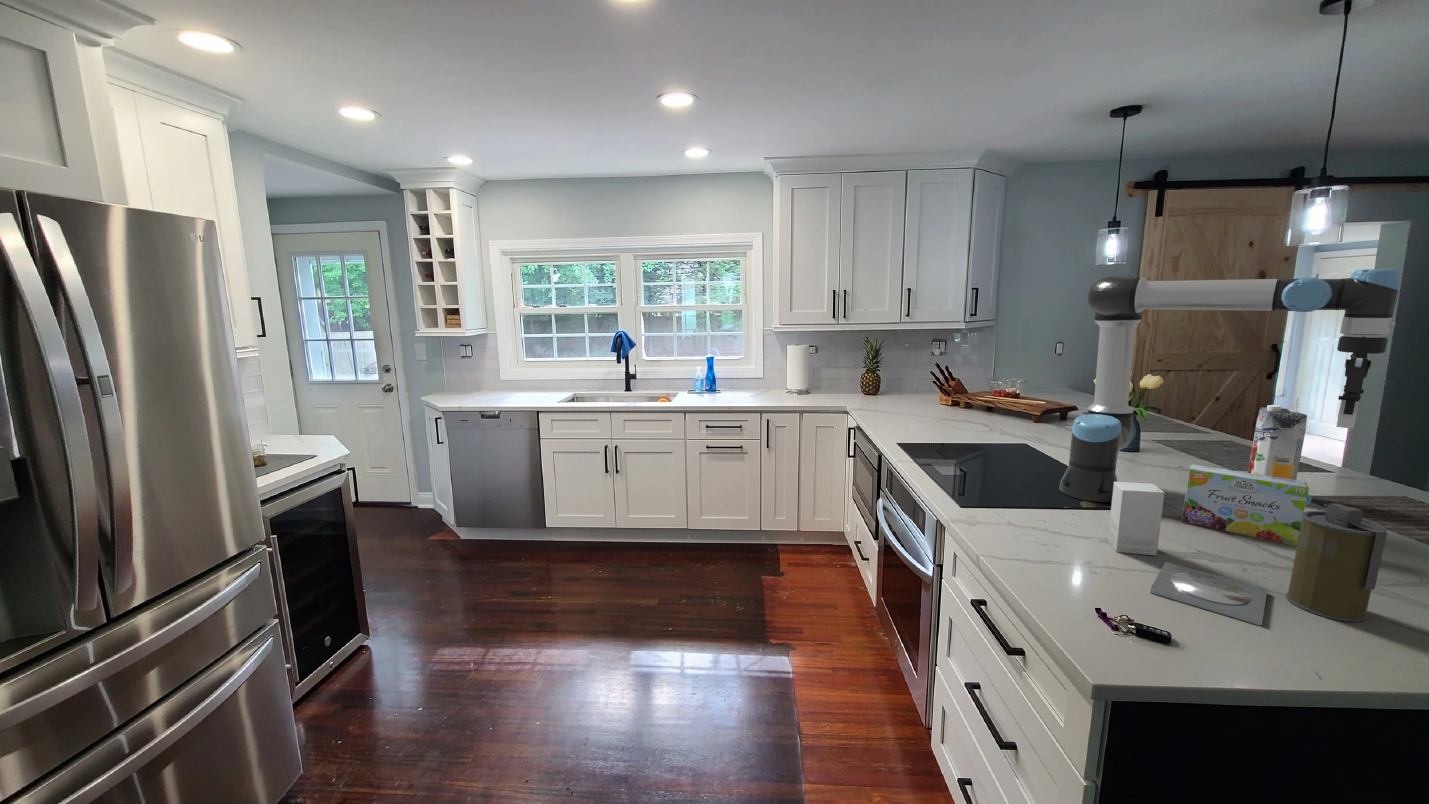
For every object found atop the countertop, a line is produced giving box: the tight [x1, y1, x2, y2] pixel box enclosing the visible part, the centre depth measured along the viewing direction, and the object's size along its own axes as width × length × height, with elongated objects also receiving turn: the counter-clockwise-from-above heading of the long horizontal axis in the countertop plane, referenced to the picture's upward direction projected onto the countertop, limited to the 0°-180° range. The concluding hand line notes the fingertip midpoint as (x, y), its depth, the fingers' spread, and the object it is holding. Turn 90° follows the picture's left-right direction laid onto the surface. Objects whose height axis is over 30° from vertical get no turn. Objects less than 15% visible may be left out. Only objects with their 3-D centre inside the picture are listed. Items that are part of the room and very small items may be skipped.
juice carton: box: [1247, 404, 1308, 480], centre depth 160 cm, size 9×10×27 cm
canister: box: [1285, 503, 1388, 623], centre depth 102 cm, size 11×10×20 cm
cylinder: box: [1270, 461, 1312, 506], centre depth 145 cm, size 12×10×15 cm
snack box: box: [1180, 464, 1310, 547], centre depth 137 cm, size 21×6×15 cm, turn 47°
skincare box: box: [1107, 481, 1166, 556], centre depth 128 cm, size 8×7×16 cm
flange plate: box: [1150, 561, 1268, 627], centre depth 110 cm, size 16×16×1 cm
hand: (1345, 423), depth 134 cm, fingers open, 13 cm apart
